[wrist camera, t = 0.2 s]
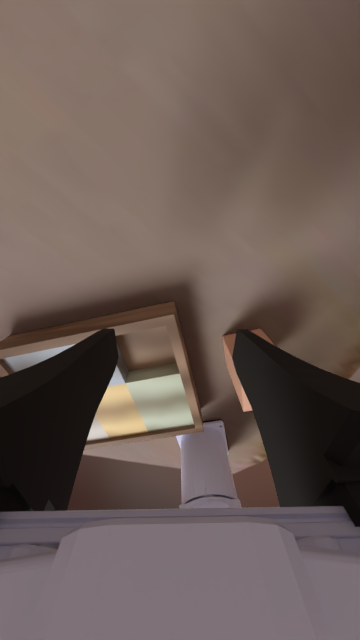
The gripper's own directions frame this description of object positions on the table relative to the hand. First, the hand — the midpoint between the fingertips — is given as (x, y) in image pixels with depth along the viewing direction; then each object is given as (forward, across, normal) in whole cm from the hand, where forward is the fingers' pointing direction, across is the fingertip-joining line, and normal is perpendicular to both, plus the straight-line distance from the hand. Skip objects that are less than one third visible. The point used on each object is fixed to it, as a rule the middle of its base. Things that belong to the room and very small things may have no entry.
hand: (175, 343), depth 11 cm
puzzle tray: (+10, +8, +12) cm, 17 cm away
